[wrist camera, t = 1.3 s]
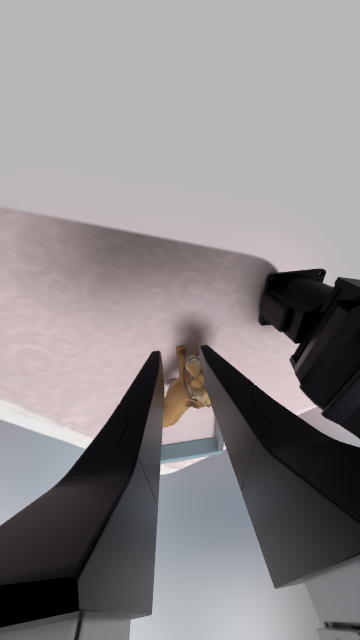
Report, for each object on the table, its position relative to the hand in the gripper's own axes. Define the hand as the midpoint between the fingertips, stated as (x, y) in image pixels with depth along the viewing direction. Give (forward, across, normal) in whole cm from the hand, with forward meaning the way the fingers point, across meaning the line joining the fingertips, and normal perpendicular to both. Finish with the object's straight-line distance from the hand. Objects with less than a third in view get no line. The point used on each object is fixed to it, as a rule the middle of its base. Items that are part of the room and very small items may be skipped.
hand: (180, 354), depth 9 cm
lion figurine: (+11, 0, +11) cm, 16 cm away
